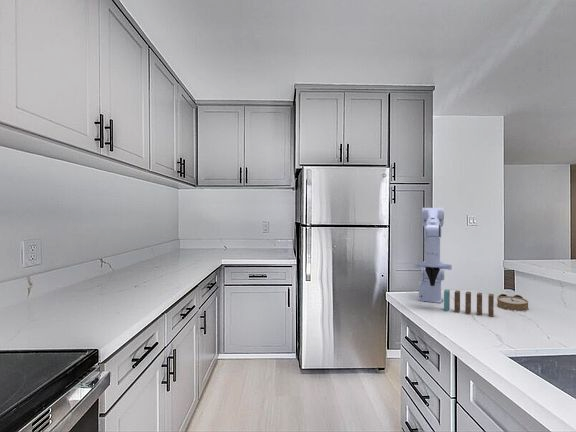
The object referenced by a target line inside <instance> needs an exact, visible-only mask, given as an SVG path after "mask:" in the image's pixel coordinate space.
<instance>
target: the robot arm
mask: <svg viewBox="0 0 576 432" xmlns="http://www.w3.org/2000/svg"><path fill="white" fill-rule="evenodd" d="M444 219H445V208H444V207H422V208H421V221H422V227H424V229H423V230H424V231H423V232H424V240H425V249H424V250H425V251H424V252H425V253H424V254H425V259H424V260H423V261H422V262H419V261H418V262H417V261H416V262H414V263H413V266H414V268H420V280H419V281H418V301H420V302H430V303H435V304H436V303H438V304H439V303H440V304H441V303H442V301H444V298H442V282H443V281H444V280H445V270H448V271H451V270H452V269H453V268H452V267H453V265H452V264H448V263H444V262H442V261H441V238H442V227H444Z"/></svg>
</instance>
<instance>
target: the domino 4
mask: <svg viewBox="0 0 576 432" xmlns="http://www.w3.org/2000/svg"><path fill="white" fill-rule="evenodd" d="M494 297H495V294H494V293H488V300H487V301H488V309H487V310H488V311H487V313H488V315H487V316H489V318H494V311H495V310H494V307H495V306H494V304H495V303H494V300H495V299H494Z"/></svg>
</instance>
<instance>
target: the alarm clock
mask: <svg viewBox="0 0 576 432" xmlns="http://www.w3.org/2000/svg"><path fill="white" fill-rule="evenodd" d="M496 297H497V298H496V302H497V307H498V308H501V309H503V310H507V309H509V310H508V311H514V310H516V311H515V312H517V311H518V312H524V311H523V310H526V311H528V310H529V301H528V300H527V299H525V298H524V297H523V296H521V295H520V294H516V295H515V294H514V295H513V296H512V295H507V294H505V293H501V294H499V295H498V296H496Z"/></svg>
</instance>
